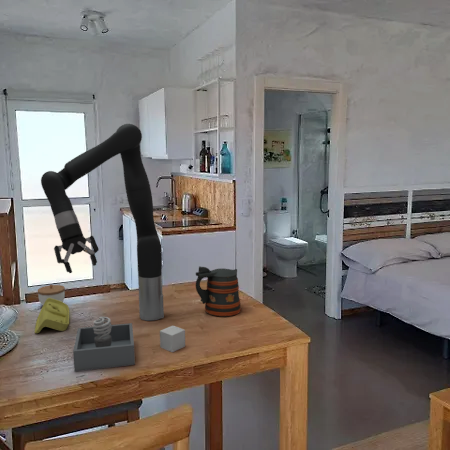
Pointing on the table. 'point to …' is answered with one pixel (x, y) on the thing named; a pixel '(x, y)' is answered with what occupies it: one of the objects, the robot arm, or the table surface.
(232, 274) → the beer stein
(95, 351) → the bin
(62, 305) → the plastic component
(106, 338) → the light bulb
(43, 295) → the lidded jar
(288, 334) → the table surface
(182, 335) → the light grey cube
